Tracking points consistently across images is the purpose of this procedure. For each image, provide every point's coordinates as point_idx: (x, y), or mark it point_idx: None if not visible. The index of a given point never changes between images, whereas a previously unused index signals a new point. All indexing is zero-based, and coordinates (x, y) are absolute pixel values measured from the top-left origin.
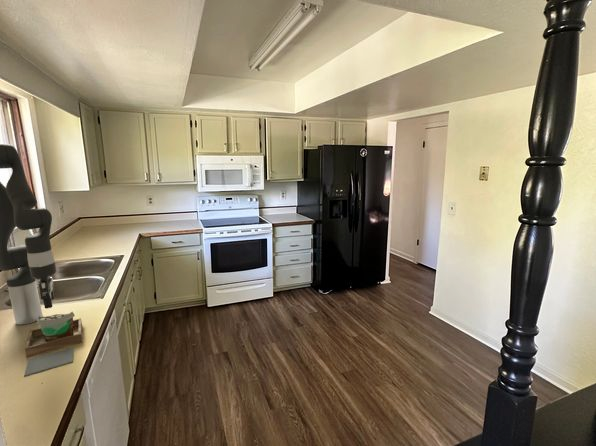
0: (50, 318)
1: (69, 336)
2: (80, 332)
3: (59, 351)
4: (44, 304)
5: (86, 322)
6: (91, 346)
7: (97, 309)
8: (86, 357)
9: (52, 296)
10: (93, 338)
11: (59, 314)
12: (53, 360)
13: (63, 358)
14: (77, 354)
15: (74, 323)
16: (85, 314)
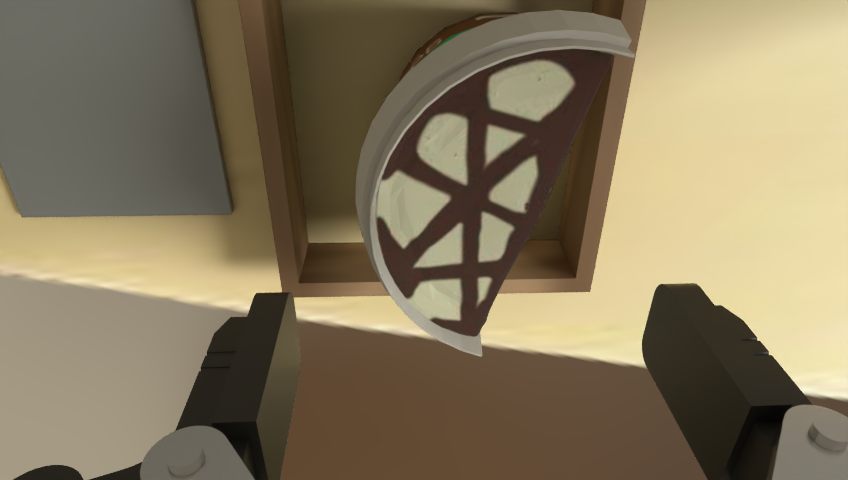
0: (480, 169)
1: (281, 231)
2: (312, 294)
3: (205, 134)
4: (240, 342)
5: (608, 274)
6: (202, 301)
7: (782, 333)
8: (63, 279)
9: (660, 377)
10: (313, 311)
11: (518, 247)
12: (75, 103)
13: (83, 164)
14: (126, 234)
15: (573, 235)
16: (766, 267)
